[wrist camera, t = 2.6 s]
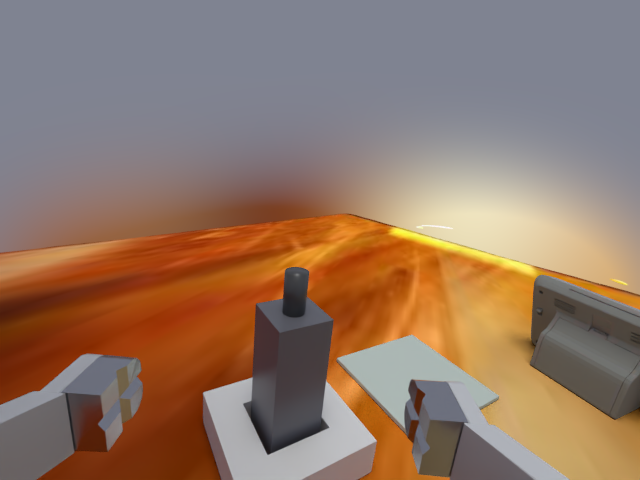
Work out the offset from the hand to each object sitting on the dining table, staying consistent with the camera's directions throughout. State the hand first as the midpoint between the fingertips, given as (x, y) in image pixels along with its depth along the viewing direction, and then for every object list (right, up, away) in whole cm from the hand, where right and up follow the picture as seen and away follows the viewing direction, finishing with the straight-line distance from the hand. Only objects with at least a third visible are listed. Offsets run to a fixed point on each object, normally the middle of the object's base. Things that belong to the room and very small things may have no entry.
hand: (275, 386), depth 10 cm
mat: (+11, -11, +25) cm, 30 cm away
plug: (-2, -12, +16) cm, 20 cm away
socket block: (-2, -12, +16) cm, 20 cm away
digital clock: (+32, -12, +28) cm, 45 cm away
